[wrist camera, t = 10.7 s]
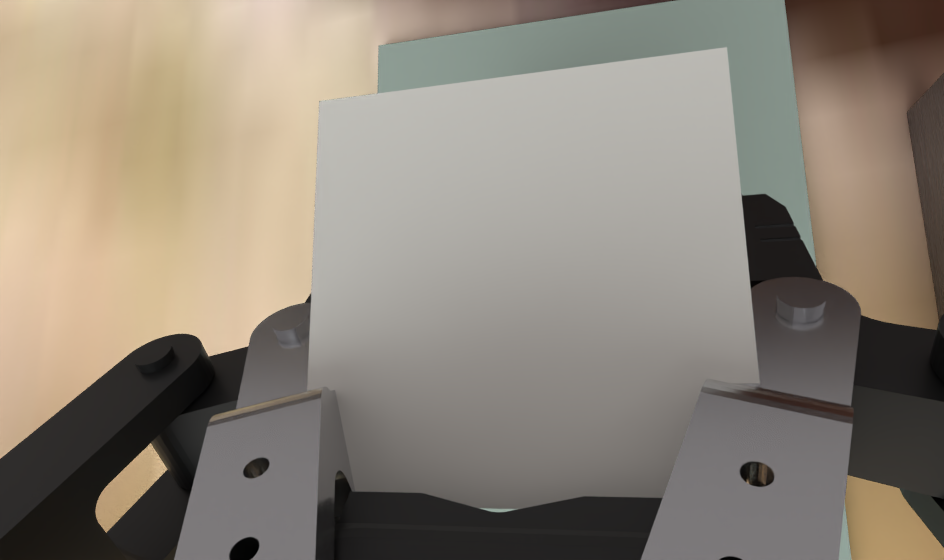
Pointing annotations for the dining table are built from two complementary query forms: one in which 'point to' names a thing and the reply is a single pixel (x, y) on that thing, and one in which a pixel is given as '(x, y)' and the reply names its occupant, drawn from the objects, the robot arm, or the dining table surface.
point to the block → (530, 278)
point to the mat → (642, 36)
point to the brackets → (931, 175)
